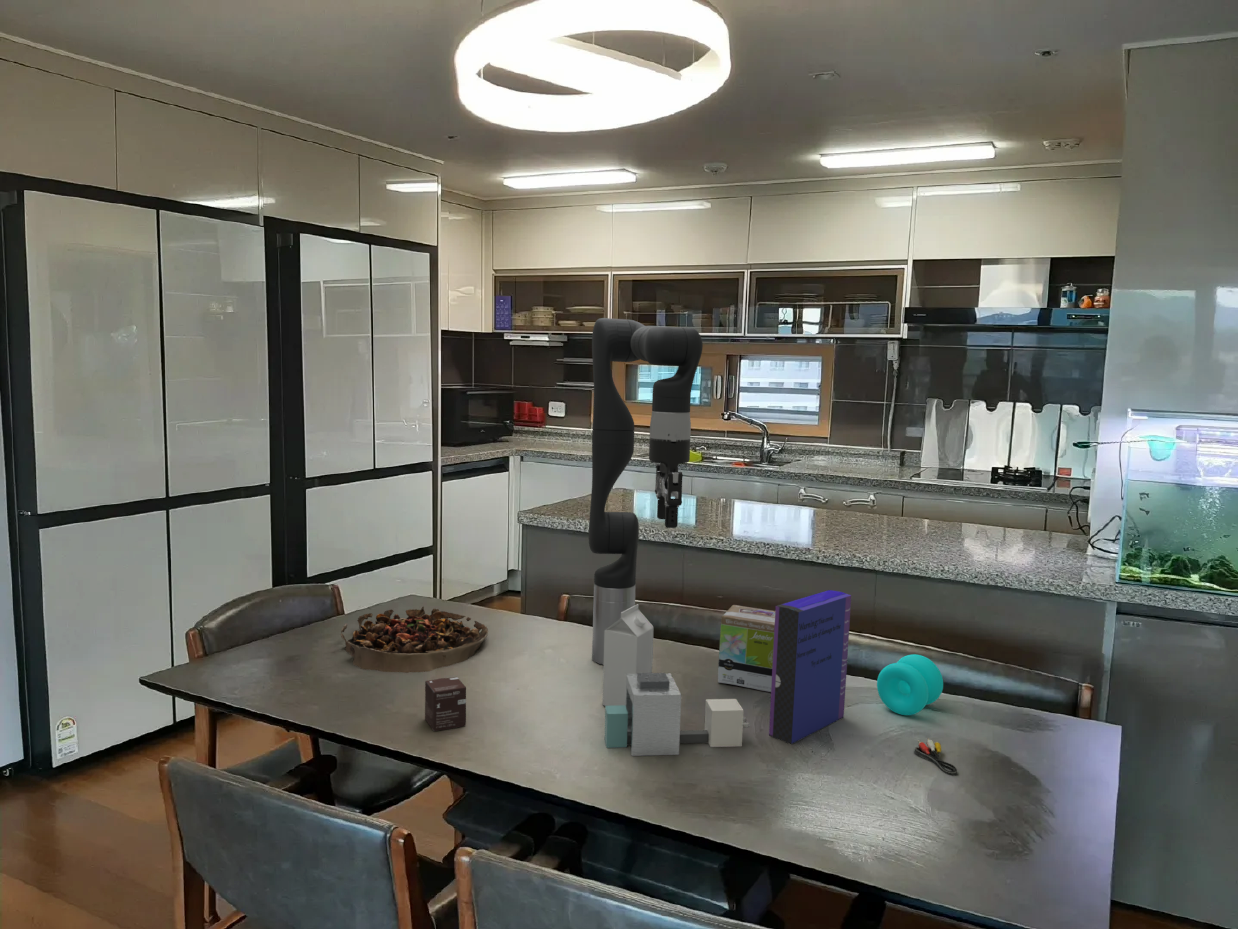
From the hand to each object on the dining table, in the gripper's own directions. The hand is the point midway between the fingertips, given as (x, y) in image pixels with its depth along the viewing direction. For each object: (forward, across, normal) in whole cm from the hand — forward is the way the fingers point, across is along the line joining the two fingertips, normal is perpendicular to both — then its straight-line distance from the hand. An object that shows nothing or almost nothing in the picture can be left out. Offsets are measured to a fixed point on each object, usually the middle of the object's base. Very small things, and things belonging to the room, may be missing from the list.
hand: (666, 523), depth 154 cm
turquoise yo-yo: (+36, +2, +49) cm, 61 cm away
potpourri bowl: (+37, -39, -51) cm, 74 cm away
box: (+36, +4, -40) cm, 54 cm away
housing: (+36, +14, -4) cm, 39 cm away
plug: (+36, +14, +1) cm, 39 cm away
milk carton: (+36, -3, -6) cm, 37 cm away
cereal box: (+36, +9, +26) cm, 46 cm away
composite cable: (+37, +24, +43) cm, 61 cm away
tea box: (+36, -13, +23) cm, 45 cm away
